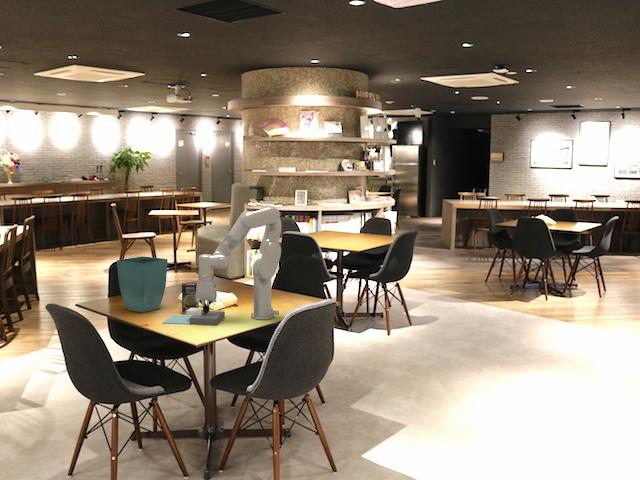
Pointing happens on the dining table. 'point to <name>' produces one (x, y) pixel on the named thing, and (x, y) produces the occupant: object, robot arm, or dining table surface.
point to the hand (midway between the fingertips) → (206, 312)
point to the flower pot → (142, 282)
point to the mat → (178, 319)
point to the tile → (195, 311)
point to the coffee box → (189, 297)
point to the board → (208, 318)
